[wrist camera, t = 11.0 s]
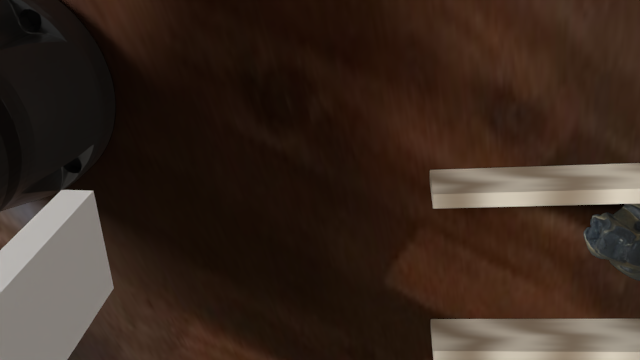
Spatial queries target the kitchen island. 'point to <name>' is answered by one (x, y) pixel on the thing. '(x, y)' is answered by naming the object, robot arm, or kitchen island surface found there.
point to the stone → (617, 239)
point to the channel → (536, 334)
